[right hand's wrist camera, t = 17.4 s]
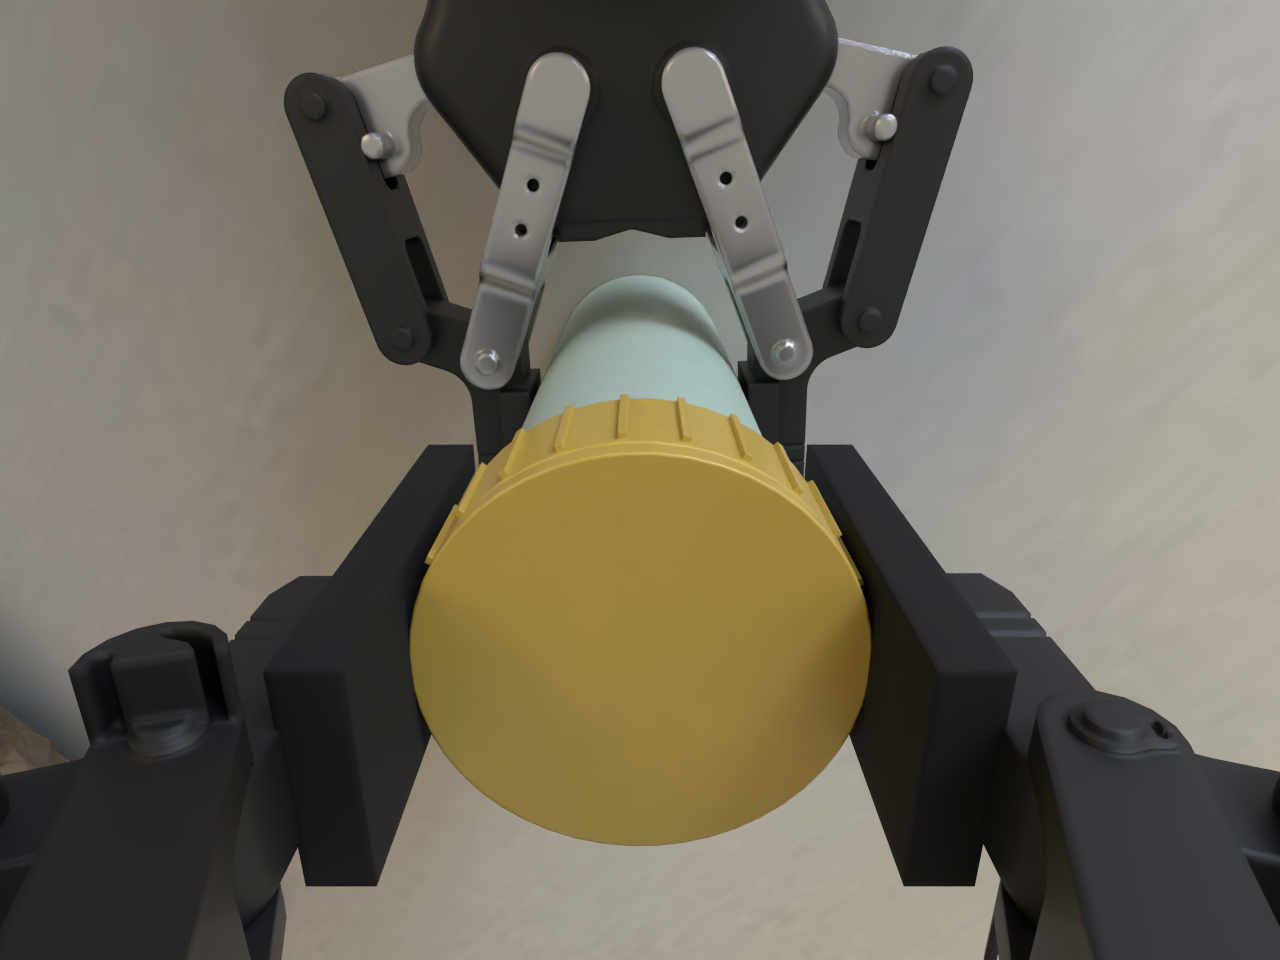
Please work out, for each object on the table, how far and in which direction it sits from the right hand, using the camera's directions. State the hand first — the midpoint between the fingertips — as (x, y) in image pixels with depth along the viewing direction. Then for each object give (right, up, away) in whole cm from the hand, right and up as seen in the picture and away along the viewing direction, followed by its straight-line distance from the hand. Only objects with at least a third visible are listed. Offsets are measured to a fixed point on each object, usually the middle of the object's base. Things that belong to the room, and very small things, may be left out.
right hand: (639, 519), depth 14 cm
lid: (0, -1, -4) cm, 4 cm away
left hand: (0, 0, +6) cm, 6 cm away
